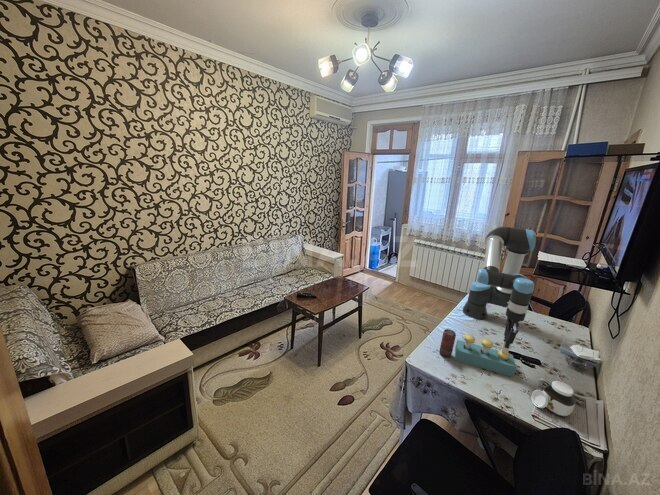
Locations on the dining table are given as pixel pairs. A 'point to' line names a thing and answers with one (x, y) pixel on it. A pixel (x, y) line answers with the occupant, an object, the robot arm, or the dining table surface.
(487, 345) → the plunger mid
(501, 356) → the plunger
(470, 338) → the plunger
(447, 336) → the can
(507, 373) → the mount
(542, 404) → the spread jar
